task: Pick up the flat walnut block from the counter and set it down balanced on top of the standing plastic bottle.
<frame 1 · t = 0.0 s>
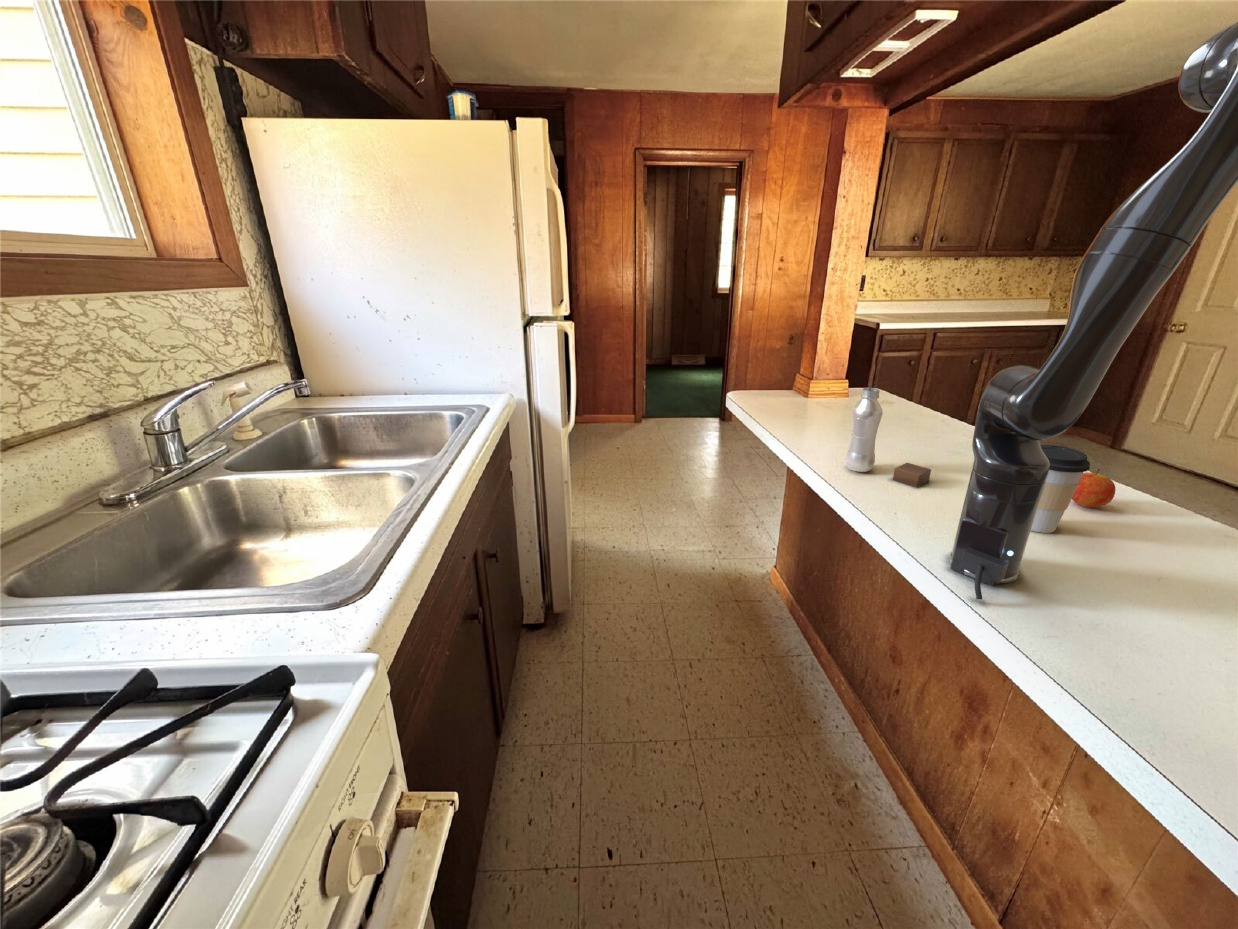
walnut block: (910, 480, 118), on the countertop
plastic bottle: (858, 470, 124), on the countertop
fruit: (1085, 506, 104), on the countertop
coffee cup: (1035, 526, 97), on the countertop
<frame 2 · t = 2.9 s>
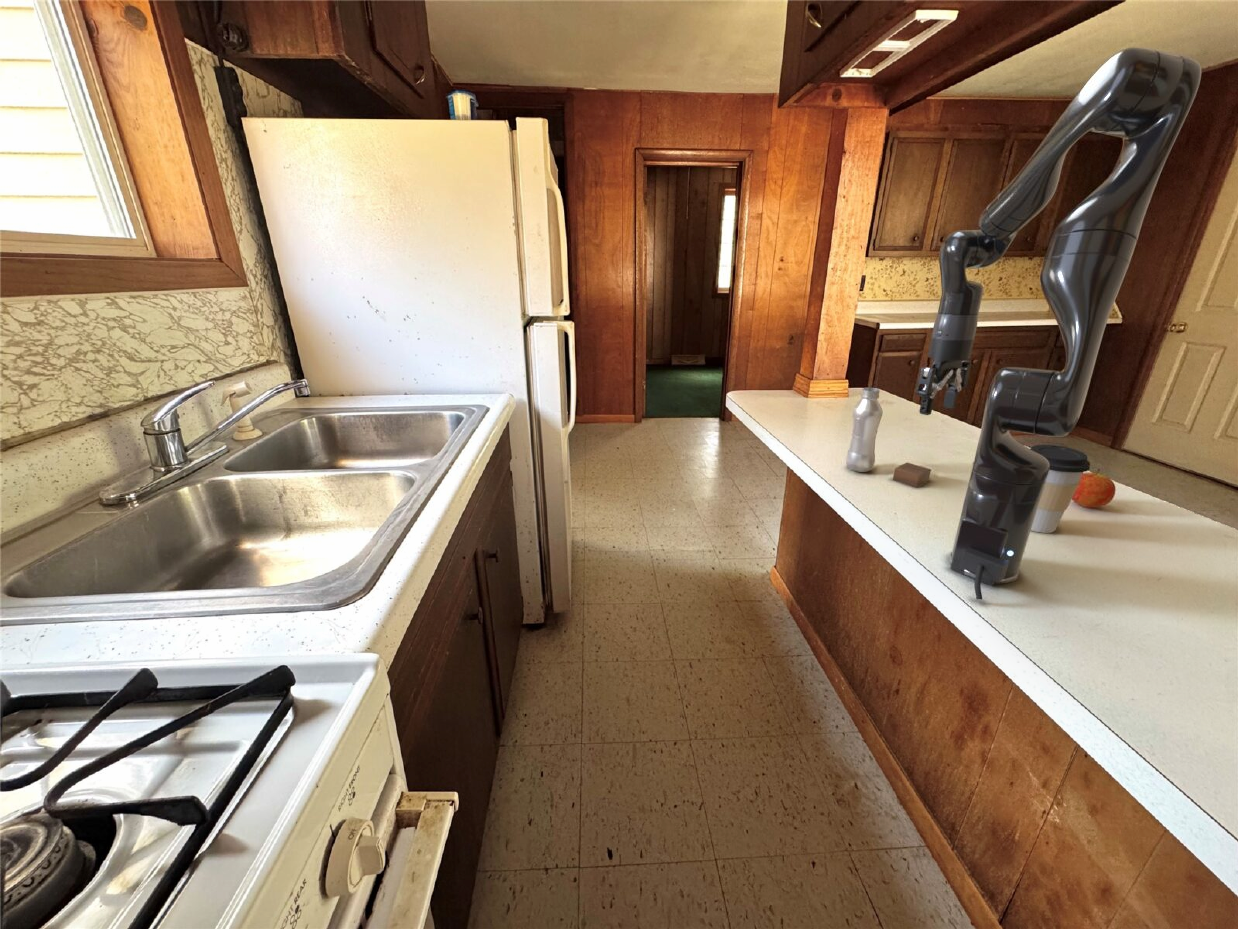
hand: (936, 410, 112), 16 cm above the countertop, tool pointing down, fingers open, 8 cm apart
nothing on the countertop moved.
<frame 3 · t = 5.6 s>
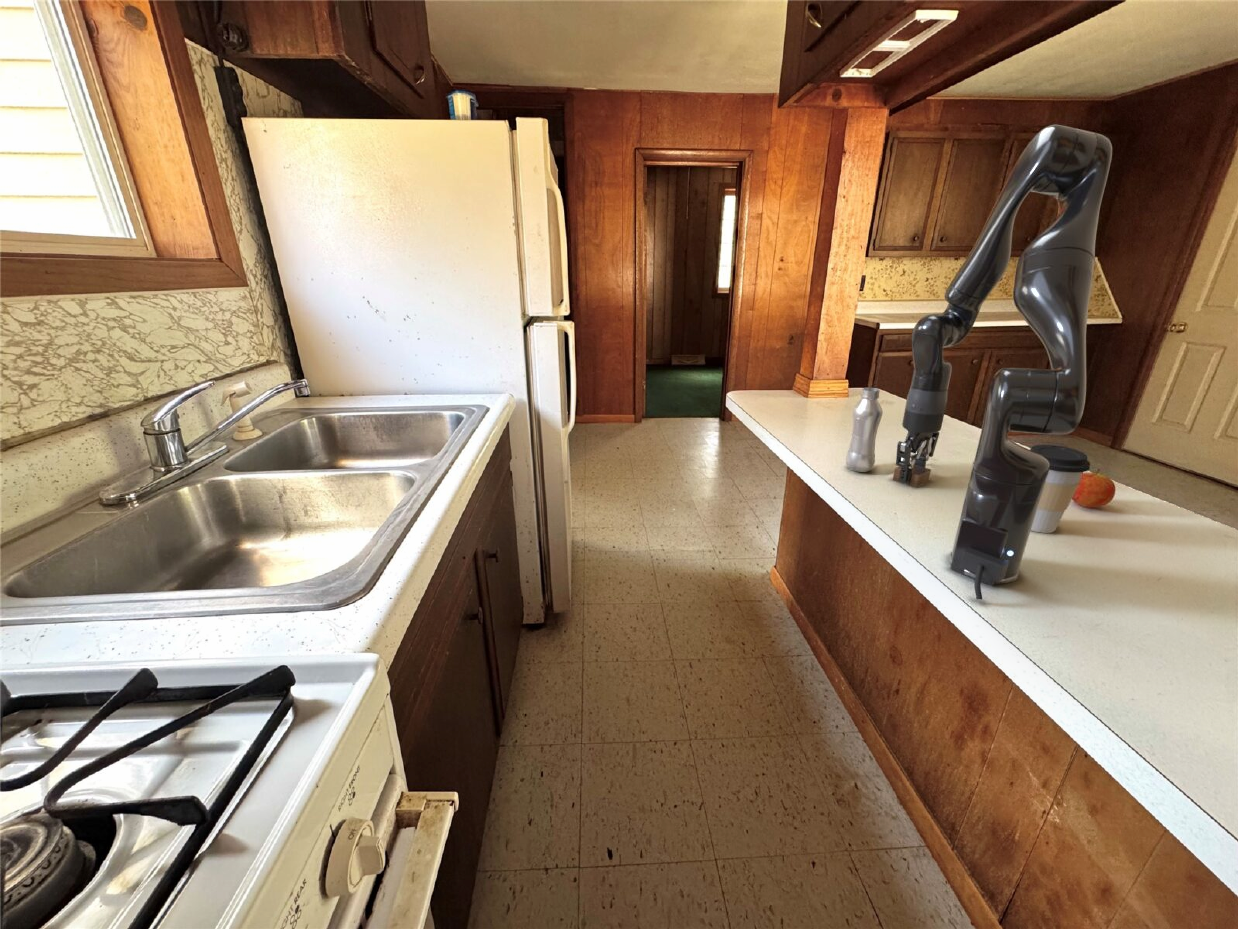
hand: (911, 478, 117), 1 cm above the countertop, tool pointing down, fingers closed on walnut block, 5 cm apart
walnut block: (910, 480, 118), on the countertop, touching gripper
everything else where it was.
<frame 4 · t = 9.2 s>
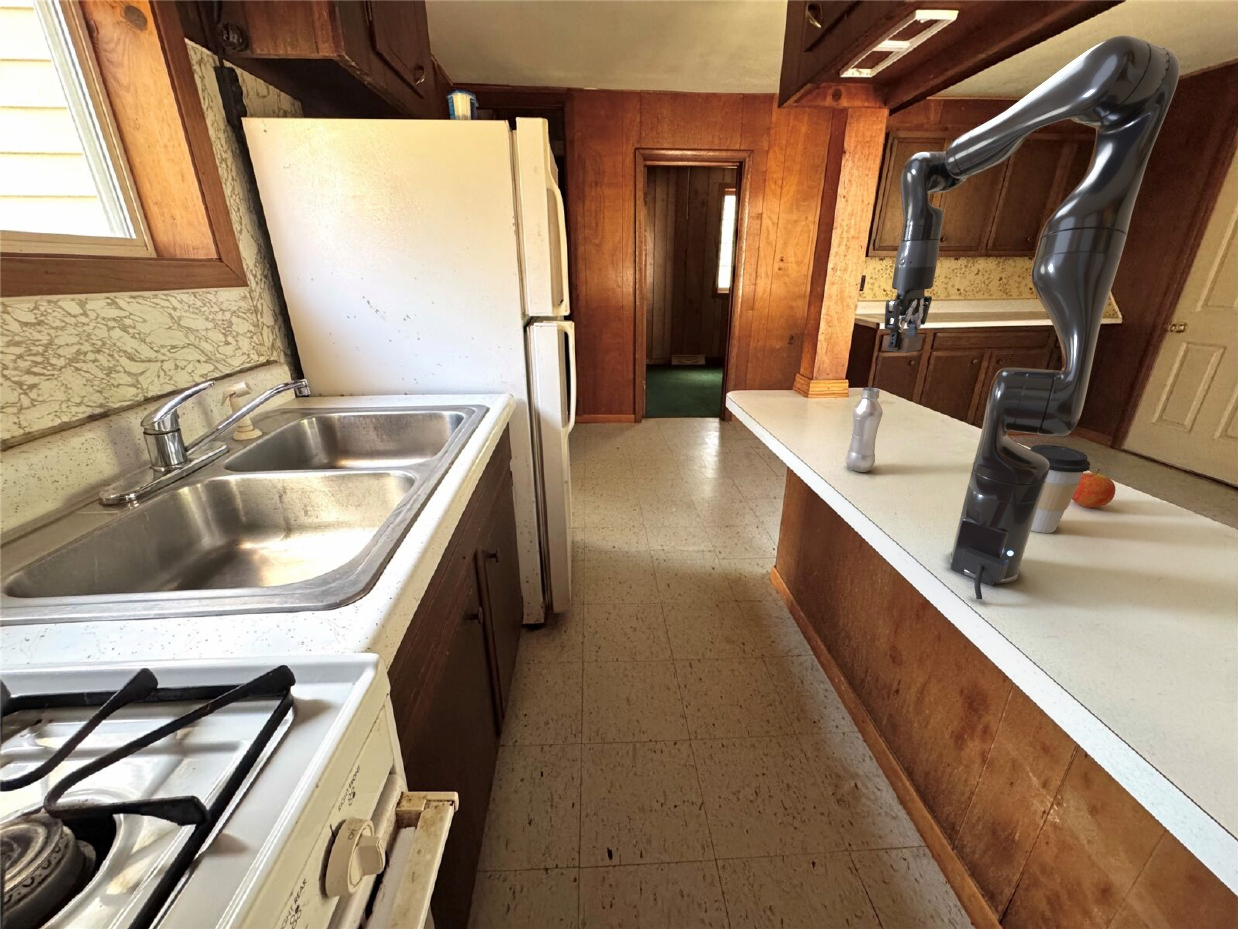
hand: (901, 347, 111), 30 cm above the countertop, tool pointing down, fingers closed on walnut block, 5 cm apart
walnut block: (901, 349, 111), point 29 cm above the countertop, touching gripper
everything else where it was.
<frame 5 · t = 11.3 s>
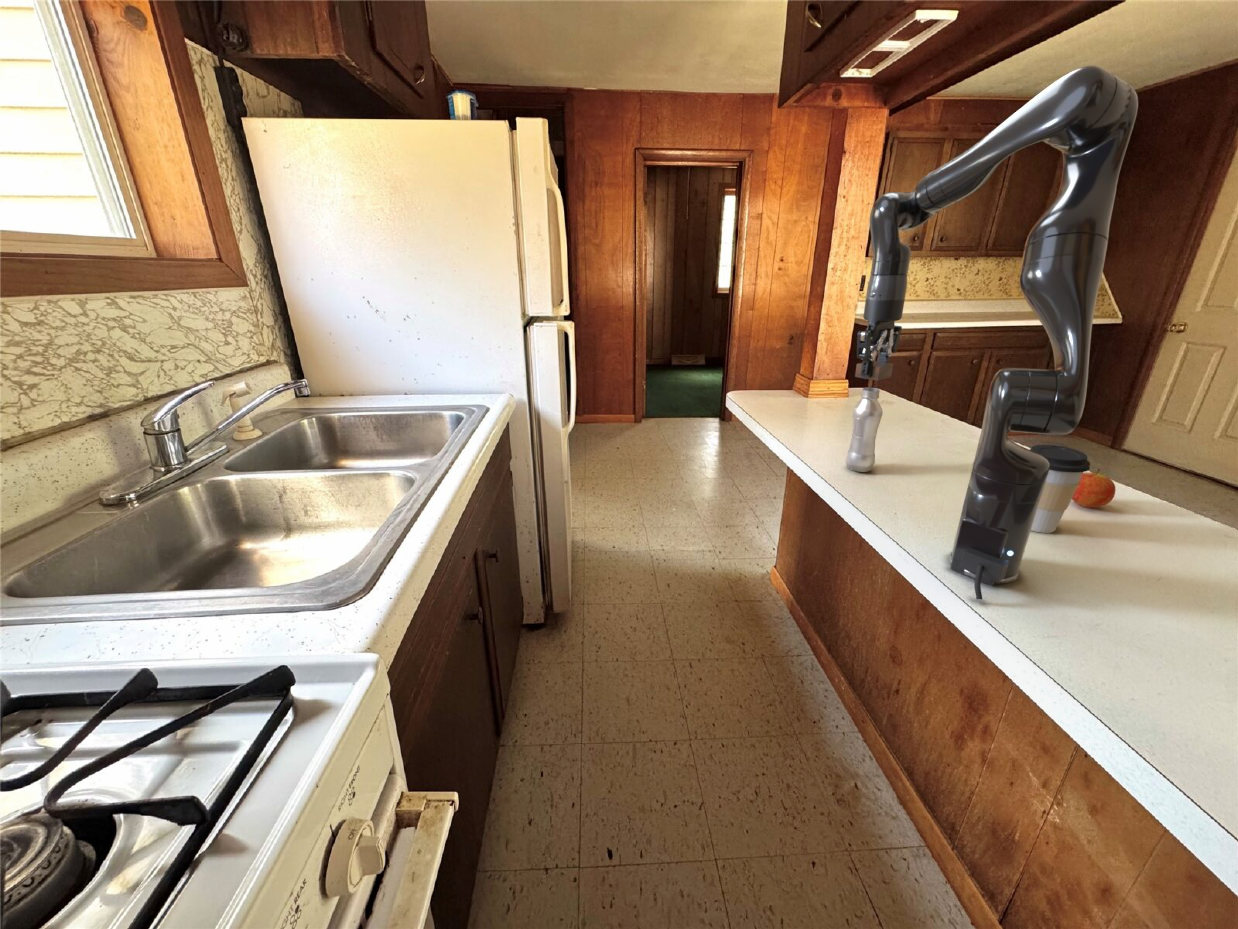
hand: (873, 374, 116), 23 cm above the countertop, tool pointing down, fingers closed on walnut block, 5 cm apart
walnut block: (873, 376, 116), point 23 cm above the countertop, touching gripper
everything else where it was.
when the fingers open (21 cm above the countertop, at t = 12.7 s): walnut block stays where it is, resting on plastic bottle.
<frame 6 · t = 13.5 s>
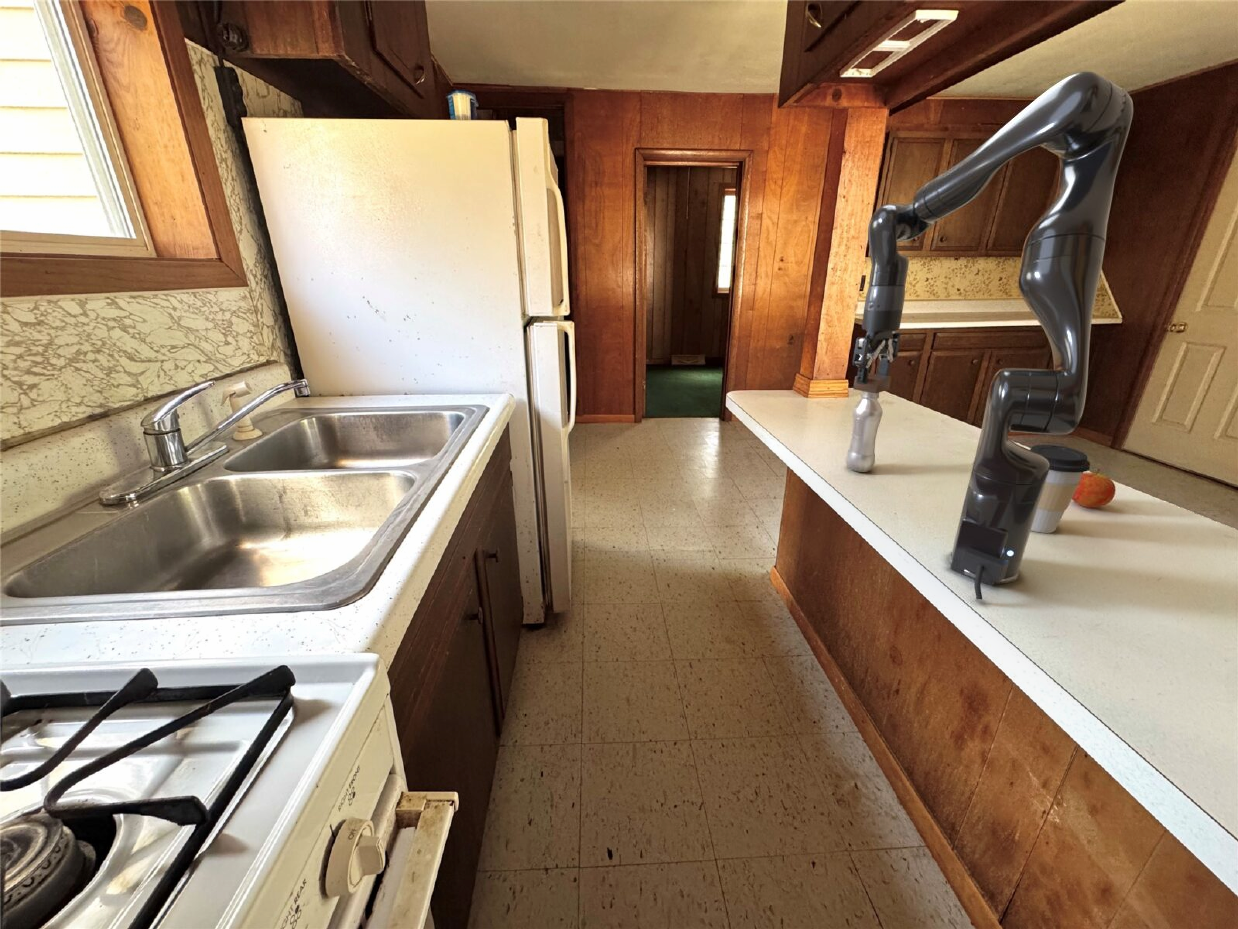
hand: (872, 381, 116), 22 cm above the countertop, tool pointing down, fingers open, 8 cm apart
walnut block: (871, 389, 117), point 20 cm above the countertop, touching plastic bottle
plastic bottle: (858, 470, 124), on the countertop, touching walnut block
everything else where it was.
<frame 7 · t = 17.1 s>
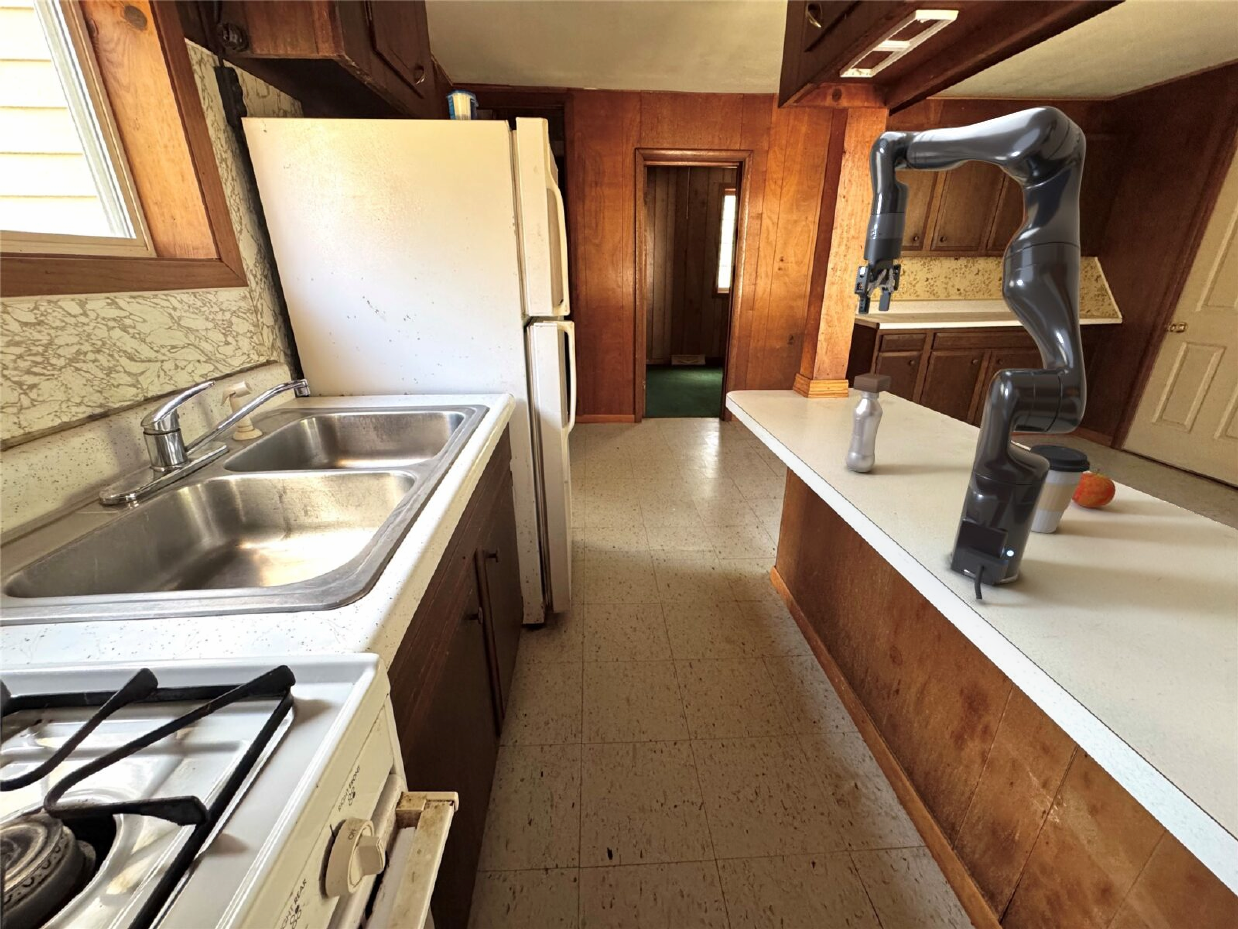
hand: (873, 312, 119), 36 cm above the countertop, tool pointing down, fingers open, 8 cm apart
nothing on the countertop moved.
at the end: walnut block 0.0 cm off-centre on the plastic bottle, point 20.2 cm above the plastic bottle's base; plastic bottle tilted 0°; the gripper is holding nothing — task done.
